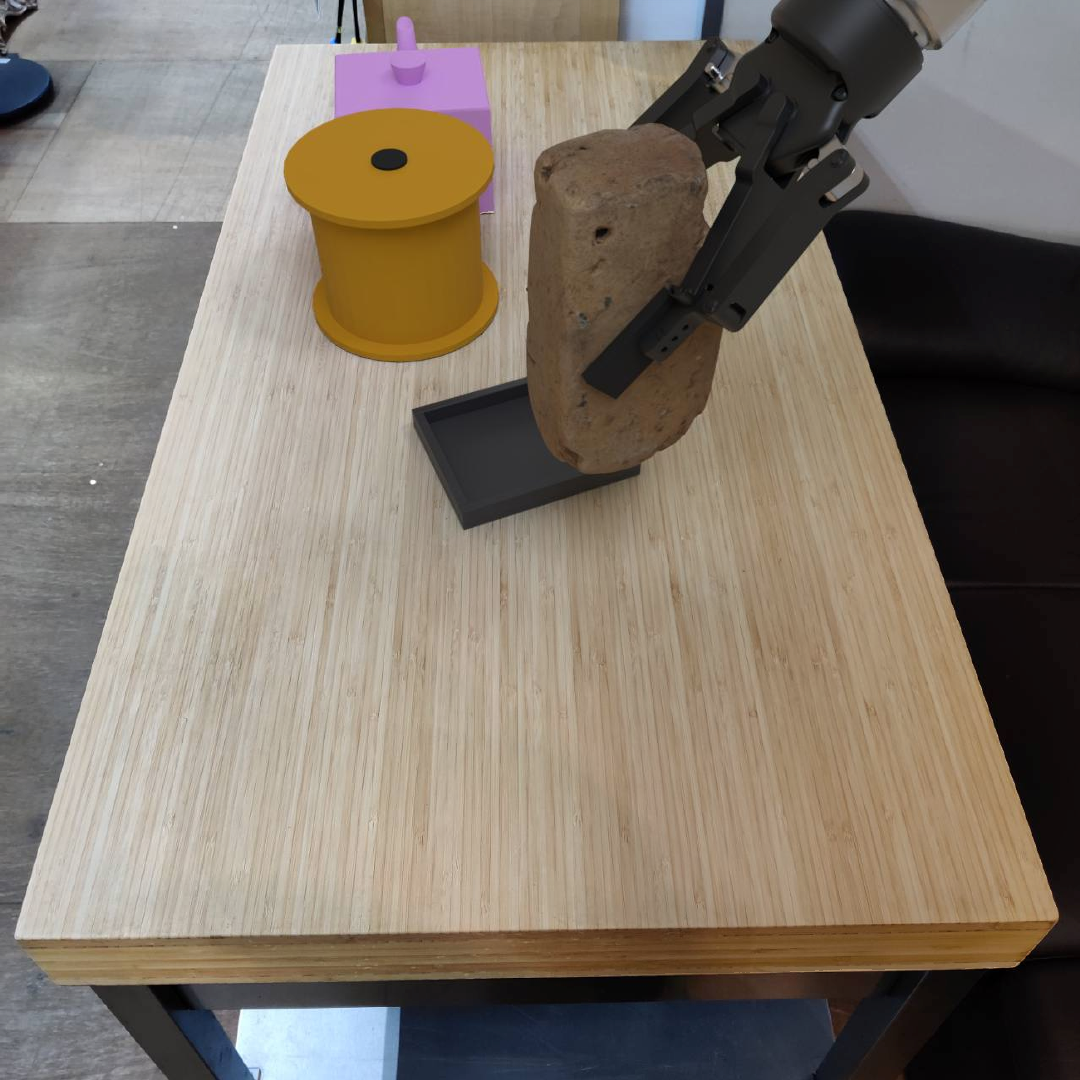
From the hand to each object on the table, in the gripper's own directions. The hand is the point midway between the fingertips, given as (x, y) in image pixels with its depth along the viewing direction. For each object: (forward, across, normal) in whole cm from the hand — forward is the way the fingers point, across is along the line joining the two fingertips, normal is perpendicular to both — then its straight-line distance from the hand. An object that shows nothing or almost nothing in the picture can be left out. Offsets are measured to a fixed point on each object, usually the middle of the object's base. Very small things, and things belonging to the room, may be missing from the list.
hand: (569, 342), depth 57 cm
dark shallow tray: (+15, +13, -18) cm, 27 cm away
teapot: (+11, +56, -21) cm, 61 cm away
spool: (+17, +36, -16) cm, 43 cm away
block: (+4, 0, -9) cm, 9 cm away
